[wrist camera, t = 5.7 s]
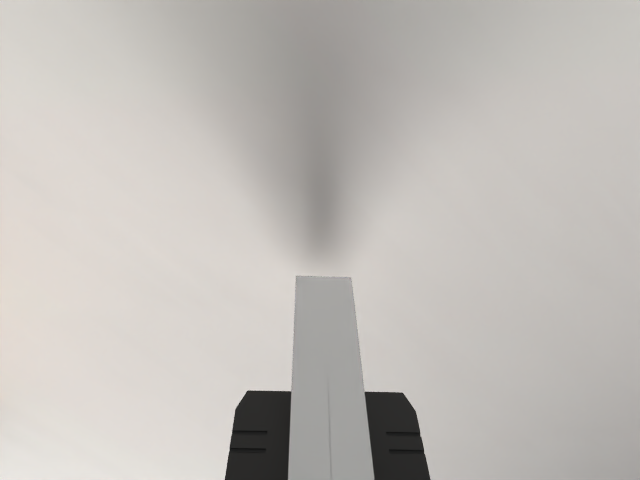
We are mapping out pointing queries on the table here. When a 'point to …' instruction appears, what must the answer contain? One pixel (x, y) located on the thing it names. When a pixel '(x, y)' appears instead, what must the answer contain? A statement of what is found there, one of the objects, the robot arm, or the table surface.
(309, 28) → the table surface
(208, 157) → the table surface
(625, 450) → the table surface
